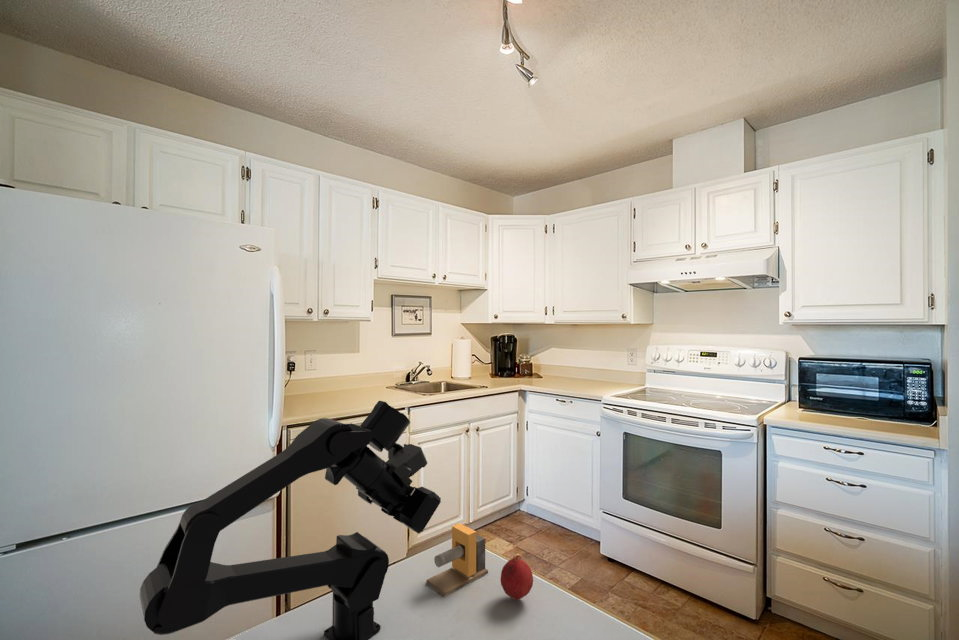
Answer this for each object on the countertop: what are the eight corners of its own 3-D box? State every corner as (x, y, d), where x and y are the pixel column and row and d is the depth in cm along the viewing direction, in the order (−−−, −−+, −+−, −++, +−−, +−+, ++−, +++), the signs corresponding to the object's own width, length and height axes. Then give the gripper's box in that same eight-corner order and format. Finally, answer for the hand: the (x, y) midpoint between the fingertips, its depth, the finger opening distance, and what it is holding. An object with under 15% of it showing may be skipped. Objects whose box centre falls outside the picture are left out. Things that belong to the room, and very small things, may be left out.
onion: (517, 614, 72) (517, 567, 72) (493, 598, 76) (493, 553, 77) (539, 600, 76) (539, 555, 76) (516, 585, 80) (516, 543, 80)
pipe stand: (444, 596, 77) (444, 560, 77) (426, 583, 81) (426, 548, 81) (488, 573, 84) (488, 540, 85) (469, 561, 88) (469, 530, 89)
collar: (468, 577, 81) (468, 534, 81) (452, 566, 85) (452, 526, 85) (476, 573, 83) (476, 531, 83) (459, 562, 86) (459, 523, 87)
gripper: (431, 443, 68) (481, 495, 75) (373, 424, 81) (420, 469, 88) (387, 507, 62) (446, 556, 69) (333, 475, 76) (387, 519, 83)
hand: (424, 520), depth 78 cm, fingers closed
